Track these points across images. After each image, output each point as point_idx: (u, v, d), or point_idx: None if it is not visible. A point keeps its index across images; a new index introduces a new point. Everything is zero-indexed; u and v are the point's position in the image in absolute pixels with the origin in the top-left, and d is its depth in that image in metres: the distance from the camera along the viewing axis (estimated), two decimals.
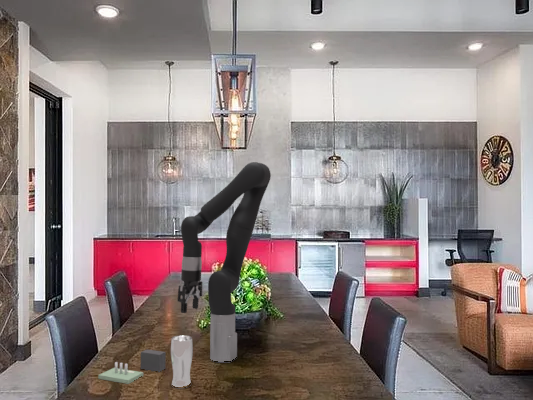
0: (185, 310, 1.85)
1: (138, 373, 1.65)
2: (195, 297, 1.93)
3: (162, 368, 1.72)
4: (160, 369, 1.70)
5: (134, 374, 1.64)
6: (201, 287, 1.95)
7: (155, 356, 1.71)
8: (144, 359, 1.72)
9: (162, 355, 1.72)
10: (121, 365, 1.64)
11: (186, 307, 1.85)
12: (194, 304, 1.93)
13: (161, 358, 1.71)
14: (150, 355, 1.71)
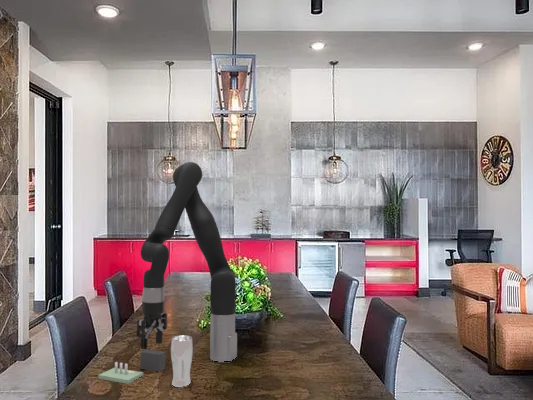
0: (145, 346, 1.69)
1: (138, 373, 1.65)
2: (158, 331, 1.78)
3: (162, 368, 1.72)
4: (160, 369, 1.70)
5: (134, 374, 1.64)
6: (165, 319, 1.79)
7: (155, 356, 1.71)
8: (144, 359, 1.72)
9: (162, 355, 1.72)
10: (121, 365, 1.64)
11: (146, 343, 1.69)
12: (157, 338, 1.77)
13: (161, 358, 1.71)
14: (150, 355, 1.71)
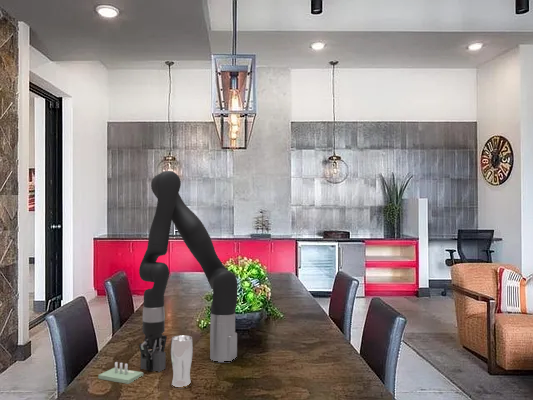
0: (151, 367, 1.70)
1: (138, 373, 1.65)
2: None
3: (162, 368, 1.72)
4: (160, 369, 1.70)
5: (134, 374, 1.64)
6: (164, 342, 1.78)
7: (155, 356, 1.71)
8: (144, 359, 1.72)
9: (162, 355, 1.72)
10: (121, 365, 1.64)
11: (152, 364, 1.71)
12: None
13: (161, 358, 1.71)
14: None
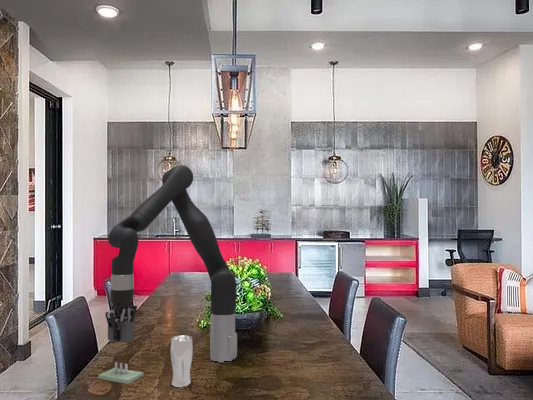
0: (118, 338, 1.62)
1: (138, 373, 1.65)
2: None
3: (130, 338, 1.64)
4: (127, 339, 1.62)
5: (134, 374, 1.64)
6: (134, 312, 1.70)
7: (122, 326, 1.63)
8: (111, 329, 1.64)
9: (130, 324, 1.64)
10: (121, 365, 1.64)
11: (119, 334, 1.63)
12: None
13: (129, 328, 1.63)
14: None
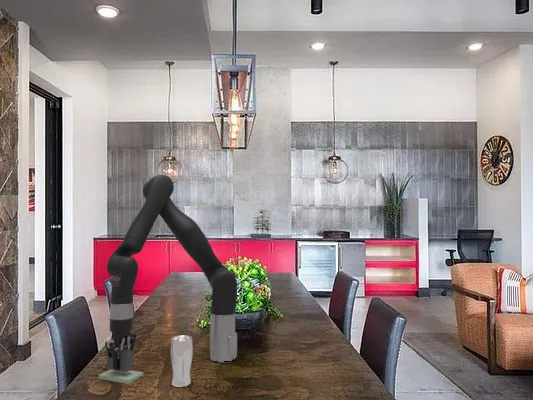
0: (118, 367, 1.62)
1: (138, 373, 1.65)
2: None
3: (130, 368, 1.63)
4: (127, 369, 1.62)
5: (134, 374, 1.64)
6: (134, 340, 1.69)
7: (122, 355, 1.62)
8: (111, 358, 1.64)
9: (130, 354, 1.63)
10: None
11: (119, 363, 1.62)
12: None
13: (128, 357, 1.63)
14: None
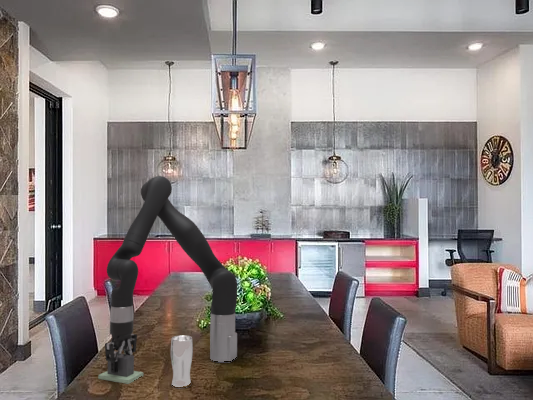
0: (116, 370, 1.61)
1: (138, 373, 1.65)
2: (127, 354, 1.68)
3: (130, 372, 1.63)
4: (128, 374, 1.62)
5: (134, 374, 1.64)
6: (135, 341, 1.70)
7: (122, 360, 1.62)
8: None
9: (130, 358, 1.63)
10: None
11: (117, 366, 1.61)
12: None
13: (129, 362, 1.63)
14: None
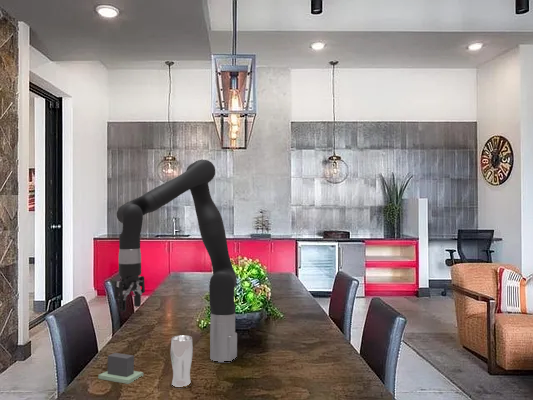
0: (124, 308, 1.66)
1: (138, 373, 1.65)
2: (137, 294, 1.75)
3: (130, 372, 1.63)
4: (128, 374, 1.62)
5: (134, 374, 1.64)
6: (143, 282, 1.76)
7: (122, 360, 1.62)
8: (111, 363, 1.64)
9: (130, 358, 1.63)
10: None
11: (125, 305, 1.66)
12: (136, 302, 1.75)
13: (129, 362, 1.63)
14: (117, 359, 1.63)
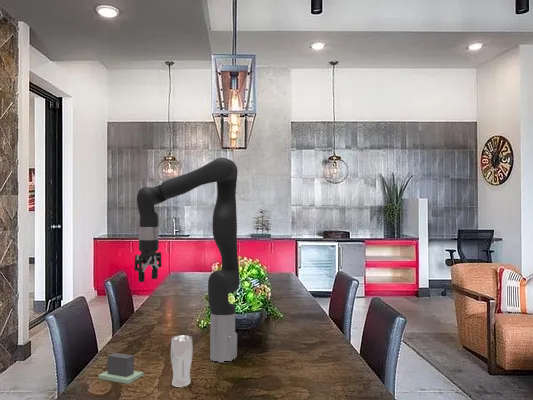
0: (142, 279, 1.87)
1: (138, 373, 1.65)
2: (154, 268, 1.96)
3: (130, 372, 1.63)
4: (128, 374, 1.62)
5: (134, 374, 1.64)
6: (160, 258, 1.97)
7: (122, 360, 1.62)
8: (111, 363, 1.64)
9: (130, 358, 1.63)
10: None
11: (143, 276, 1.88)
12: (153, 274, 1.96)
13: (129, 362, 1.63)
14: (117, 359, 1.63)
